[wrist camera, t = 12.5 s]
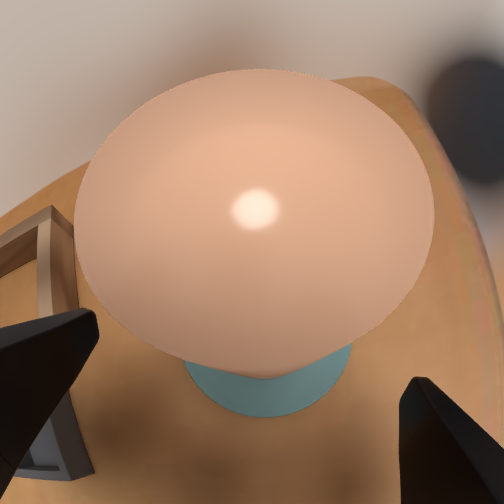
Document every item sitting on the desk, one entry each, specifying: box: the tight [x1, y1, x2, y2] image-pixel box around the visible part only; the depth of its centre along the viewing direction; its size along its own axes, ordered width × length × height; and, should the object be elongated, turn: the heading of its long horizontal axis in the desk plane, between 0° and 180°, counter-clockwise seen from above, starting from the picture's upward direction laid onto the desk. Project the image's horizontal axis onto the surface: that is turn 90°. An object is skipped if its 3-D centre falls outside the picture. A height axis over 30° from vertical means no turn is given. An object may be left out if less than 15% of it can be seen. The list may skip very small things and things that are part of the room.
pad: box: [184, 343, 352, 417], centre depth 15 cm, size 9×9×1 cm
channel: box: [0, 205, 79, 318], centre depth 15 cm, size 9×10×3 cm
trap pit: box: [14, 391, 94, 481], centre depth 11 cm, size 6×6×2 cm
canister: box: [74, 69, 434, 380], centre depth 9 cm, size 5×5×12 cm
